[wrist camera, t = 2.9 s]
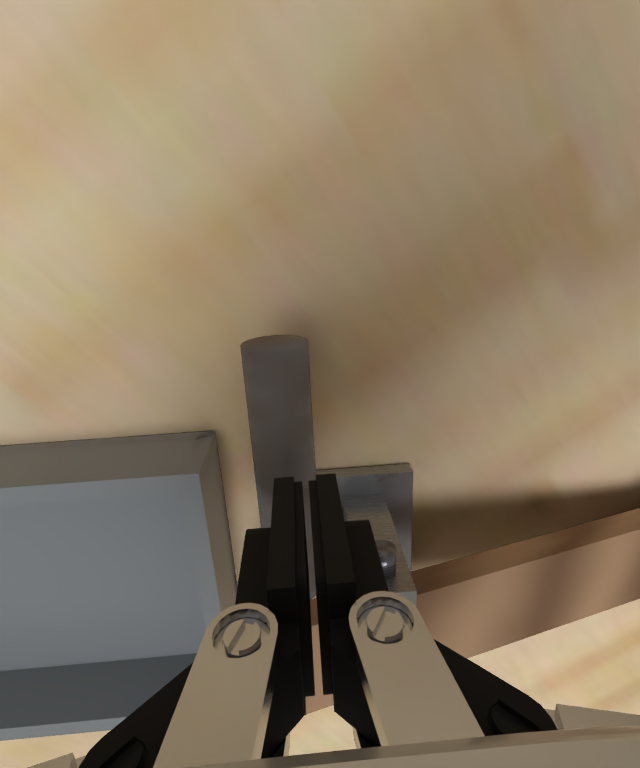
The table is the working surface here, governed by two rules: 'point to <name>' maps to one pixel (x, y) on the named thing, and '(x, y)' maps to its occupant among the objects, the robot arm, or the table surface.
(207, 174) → the table surface
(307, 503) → the lever
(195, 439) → the bin
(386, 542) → the fulcrum
